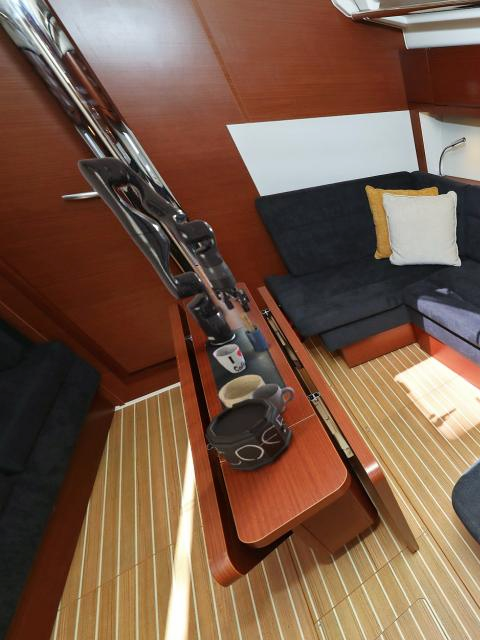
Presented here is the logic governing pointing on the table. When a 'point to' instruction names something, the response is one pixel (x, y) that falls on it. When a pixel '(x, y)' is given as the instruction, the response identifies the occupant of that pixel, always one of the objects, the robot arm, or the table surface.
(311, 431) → the table surface
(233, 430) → the dark octagonal canister
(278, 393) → the mug
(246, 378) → the bowl
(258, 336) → the crock
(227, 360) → the cup
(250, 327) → the stick
